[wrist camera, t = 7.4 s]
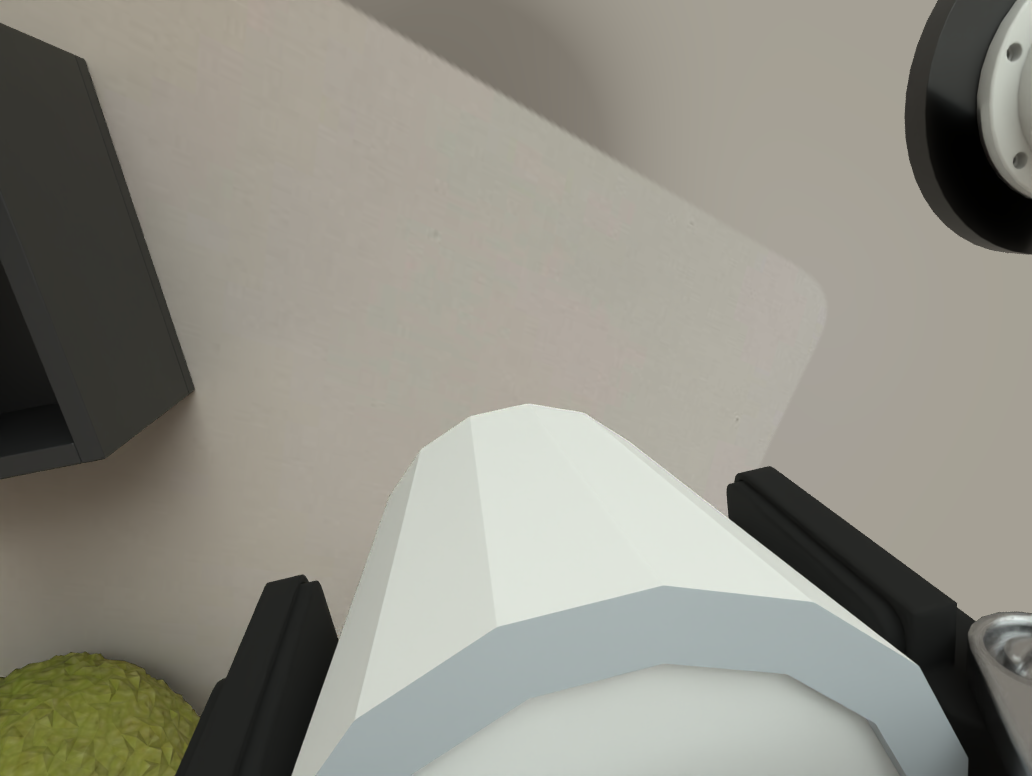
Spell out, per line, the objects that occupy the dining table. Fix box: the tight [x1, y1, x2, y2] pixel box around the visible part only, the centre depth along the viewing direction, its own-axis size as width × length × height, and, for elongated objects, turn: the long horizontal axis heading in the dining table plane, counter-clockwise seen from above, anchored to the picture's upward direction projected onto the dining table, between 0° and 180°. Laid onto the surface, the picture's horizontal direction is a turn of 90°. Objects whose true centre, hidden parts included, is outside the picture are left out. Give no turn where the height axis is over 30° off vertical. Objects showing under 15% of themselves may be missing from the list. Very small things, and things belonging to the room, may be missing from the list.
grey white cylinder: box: [292, 403, 968, 776], centre depth 9 cm, size 7×7×7 cm
